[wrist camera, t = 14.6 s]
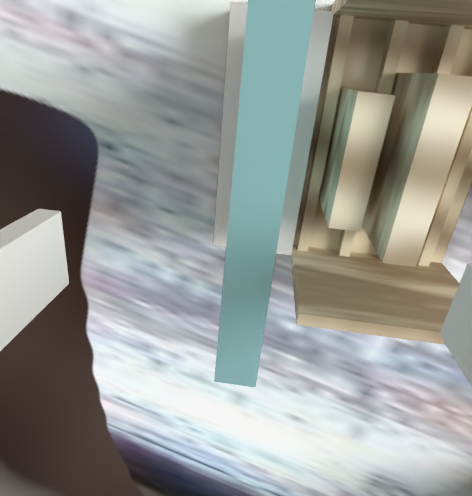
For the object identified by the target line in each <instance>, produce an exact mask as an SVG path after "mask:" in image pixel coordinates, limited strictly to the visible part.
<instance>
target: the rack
mask: <svg viewBox="0 0 472 496" xmlns="http://www.w3.org/2000/svg"><path fill="white" fill-rule="evenodd" d="M331 11H334V15H333V20H332V26H331V32H330V38H329V43H328V49H327V55H326V60H325V66H324V72H323V77H322V83H321V89H320V94H319V100H318V106H317V111H316V117H315V123H314V128H313V134H312V140H311V145H310V151H309V157H308V163H307V168H306V174H305V180H304V185H303V191H302V197H301V202H300V208H299V214H298V219H297V225H296V231H295V236H294V242H293V248H292V253H291V263H292V275H293V287H294V300H295V312H296V324H297V325H303V326H311V327H318V328H326V329H333V330H341V331H348V332H356V333H363V334H371V335H378V336H386V337H393V338H401V339H408V340H416V341H423V342H431V343H438V344H445V343H444V341H443V339H442V338H441V336H440V335H439V333H440V331H441V328H442V326H443V323H444V321H445V319H446V316H447V314H448V311H449V309H450V306H451V304H452V301H453V299H454V296H455V294H456V291H457V289H458V286H459V283H458V282H457V280H456V279H455V278H454V277H453V276H452V275H451V274H450V272H449V271H448V270H447V269H446V268H445V267H444V265H443V264H442V260H443V258H444V255H445V252H446V250H447V247H448V245H449V242H450V239H451V237H452V234H453V231H454V229H455V226H456V223H457V221H458V218H459V216H460V213H461V210H462V208H463V205H464V202H465V200H466V197H467V194H468V192H469V189H470V187H471V184H472V106H471V109H470V112H469V115H468V117H467V120H466V123H465V126H464V129H463V132H462V135H461V138H460V141H459V143H458V146H457V149H456V152H455V155H454V158H453V161H452V164H451V167H450V169H449V172H448V175H447V178H446V181H445V184H444V187H443V190H442V193H441V195H440V198H439V201H438V204H437V207H436V210H435V213H434V216H433V219H432V221H431V224H430V227H429V230H428V233H427V236H426V239H425V242H424V244H423V247H422V250H421V253H420V256H419V259H418V262H417V265H416V267H413V266H405V265H397V264H389V263H382V261H381V260H380V258H379V256H378V254H377V252H376V251H375V249H374V247H373V245H372V243H371V242H370V240H369V238H368V236H367V234H366V233H365V231H364V229H363V227H361V230H360V232H359V231H350V230H342V229H334V228H328V225H327V222H326V219H325V216H324V213H323V210H322V207H321V204H320V201H319V198H320V193H321V188H322V183H323V178H324V173H325V168H326V163H327V158H328V153H329V148H330V143H331V138H332V133H333V128H334V122H335V117H336V112H337V107H338V102H339V97H340V92H341V87H343V88H352V89H362V90H372V91H376V92H381V93H386V94H391V91H392V87H393V83H394V79H395V75H396V73H440V74H450V75H460V76H470V77H472V0H335V1H334V3H333V4H332V8H331Z"/></svg>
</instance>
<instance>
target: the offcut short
mask: <svg viewBox="0 0 472 496" xmlns="http://www.w3.org/2000/svg"><path fill="white" fill-rule="evenodd" d="M394 99H395V95H391V94H386V93H381V92H376V91H372V90H362V89H352V88H343V87H341V92H340V97H339V102H338V107H337V112H336V117H335V122H334V128H333V133H332V138H331V143H330V148H329V153H328V158H327V163H326V168H325V173H324V178H323V183H322V188H321V193H320V198H319V201H320V204H321V207H322V210H323V213H324V216H325V219H326V222H327V225H328V228H334V229H342V230H350V231H359V232H360V230H361V227H362V223H363V219H364V215H365V211H366V207H367V203H368V200H369V196H370V192H371V188H372V184H373V180H374V176H375V173H376V169H377V165H378V161H379V157H380V153H381V149H382V146H383V142H384V138H385V134H386V130H387V126H388V122H389V119H390V115H391V111H392V107H393V103H394Z"/></svg>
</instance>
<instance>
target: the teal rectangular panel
mask: <svg viewBox="0 0 472 496" xmlns="http://www.w3.org/2000/svg"><path fill="white" fill-rule="evenodd" d="M315 1H316V0H248V8H247V20H246V31H245V42H244V53H243V65H242V76H241V87H240V98H239V110H238V121H237V132H236V143H235V155H234V166H233V177H232V188H231V200H230V211H229V222H228V233H227V244H226V256H225V267H224V278H223V289H222V301H221V312H220V323H219V334H218V346H217V357H216V368H215V379H214V381H215V382H222V383H229V384H236V385H243V386H250V387H255V386H256V380H257V373H258V367H259V360H260V354H261V348H262V341H263V335H264V328H265V322H266V315H267V309H268V303H269V296H270V290H271V283H272V277H273V271H274V264H275V258H276V251H277V245H278V238H279V232H280V226H281V219H282V213H283V206H284V200H285V193H286V187H287V181H288V174H289V168H290V161H291V155H292V148H293V142H294V136H295V129H296V123H297V116H298V110H299V104H300V97H301V91H302V84H303V78H304V71H305V65H306V59H307V52H308V46H309V39H310V33H311V26H312V20H313V14H314V7H315Z"/></svg>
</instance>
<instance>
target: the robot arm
mask: <svg viewBox="0 0 472 496" xmlns="http://www.w3.org/2000/svg"><path fill="white" fill-rule="evenodd" d="M68 284H69V278H68V270H67V261H66V253H65V244H64V235H63V226H62V217H61V212H60V211H53V210H45V209H37V210H35V211H33V212H32V213H30V214H28V215H26V216H24V217H22V218H21V219H19V220H17V221H15V222H13V223H12V224H10V225H8V226H6V227H4V228H2V229H1V230H0V351H1V350H2V349H3V348H4V347H5V346H6V345H7V344H8V343H9V342H10V341H11V340H12V339H13V338H14V337H15V336H16V335H17V334H18V333H19V332H20V331H21V330H22V329H23V328H24V327H25V326H26V325H27V324H28V323H29V322H30V321H31V320H32V319H33V318H34V317H35V316H36V315H37V314H38V313H39V312H40V311H41V310H42V309H43V308H44V307H45V306H47V305H48V303H50V302H51V301H52V299H54V298H55V297H56V296H57V295H58V294H59V293H60V292H61V291H62V290H63V289H64V287H66V286H67V285H68ZM439 335H440V336H441V338H442V339H443V341H444V343H445V344H446V346H447V347H448V349H449V351H450V352H451V354H452V355H453V357H454V359H455V360H456V362H457V363H458V365H459V367H460V368H461V370H462V371H463V373H464V375H465V376H466V378H467V379H468V381H469V383H470V384H471V386H472V263H468V264H467V267H466V269H465V272H464V274H463V277H462V279H461V282H460V284H459V286H458V289H457V291H456V294H455V296H454V299H453V301H452V304H451V306H450V309H449V311H448V314H447V316H446V319H445V321H444V323H443V326H442V328H441V331H440V333H439Z"/></svg>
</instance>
